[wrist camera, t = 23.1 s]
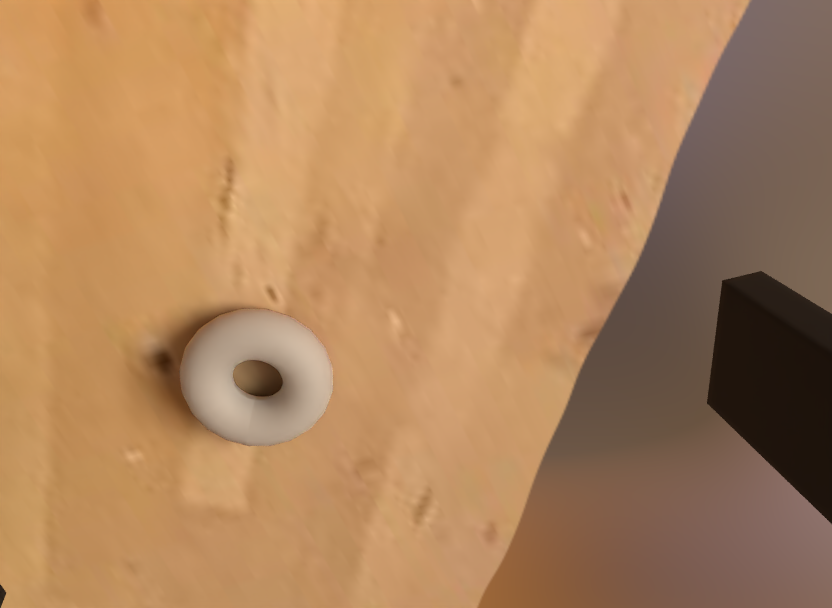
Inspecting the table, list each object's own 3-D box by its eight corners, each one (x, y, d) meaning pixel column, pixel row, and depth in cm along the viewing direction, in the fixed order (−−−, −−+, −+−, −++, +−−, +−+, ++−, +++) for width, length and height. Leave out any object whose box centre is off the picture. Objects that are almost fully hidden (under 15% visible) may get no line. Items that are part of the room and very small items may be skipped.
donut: (321, 290, 42) (169, 309, 42) (317, 312, 39) (152, 332, 39) (345, 417, 46) (207, 435, 46) (343, 447, 43) (194, 466, 43)
